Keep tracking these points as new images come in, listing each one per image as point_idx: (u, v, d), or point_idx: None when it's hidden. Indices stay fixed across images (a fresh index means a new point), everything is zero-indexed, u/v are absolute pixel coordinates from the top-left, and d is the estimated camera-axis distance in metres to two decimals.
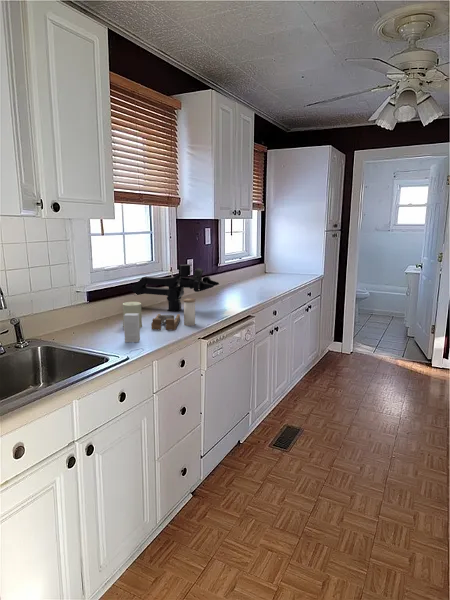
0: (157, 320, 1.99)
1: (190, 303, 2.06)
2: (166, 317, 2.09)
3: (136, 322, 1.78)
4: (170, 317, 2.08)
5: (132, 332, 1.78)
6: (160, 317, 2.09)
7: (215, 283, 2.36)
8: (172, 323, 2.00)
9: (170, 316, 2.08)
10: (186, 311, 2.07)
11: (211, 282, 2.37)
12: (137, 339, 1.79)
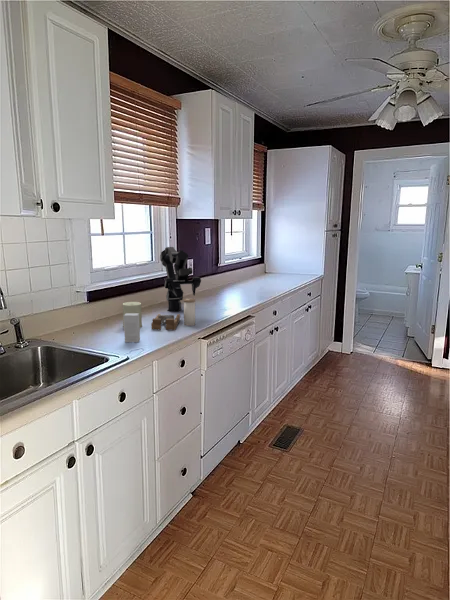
0: (157, 320, 1.99)
1: (190, 303, 2.06)
2: (166, 317, 2.09)
3: (136, 322, 1.78)
4: (170, 317, 2.08)
5: (132, 332, 1.78)
6: (160, 317, 2.09)
7: (193, 292, 2.18)
8: (172, 323, 2.00)
9: (170, 316, 2.08)
10: (186, 311, 2.07)
11: (193, 288, 2.19)
12: (137, 339, 1.79)
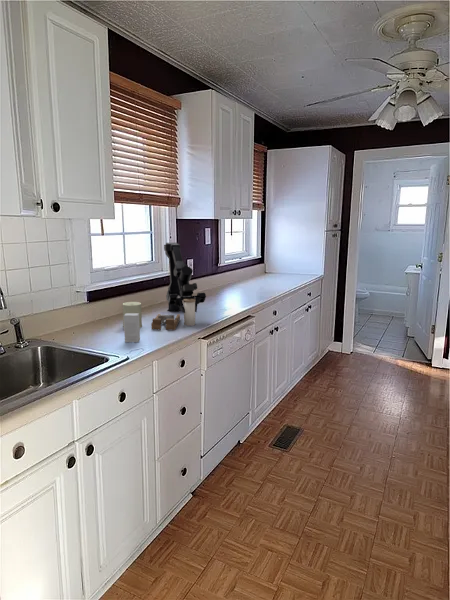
0: (157, 320, 1.99)
1: (190, 303, 2.06)
2: (166, 317, 2.09)
3: (136, 322, 1.78)
4: (170, 317, 2.08)
5: (132, 332, 1.78)
6: (160, 317, 2.09)
7: (195, 308, 2.10)
8: (172, 323, 2.00)
9: (170, 316, 2.08)
10: (186, 311, 2.07)
11: None
12: (137, 339, 1.79)
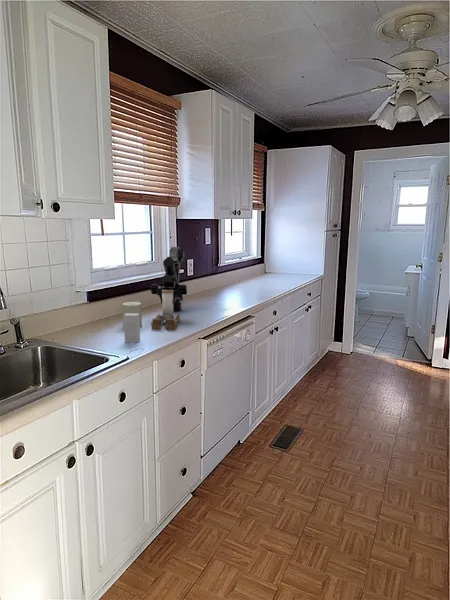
0: (157, 320, 1.99)
1: (166, 294, 2.10)
2: (166, 317, 2.09)
3: (136, 322, 1.78)
4: (170, 317, 2.08)
5: (132, 332, 1.78)
6: (160, 317, 2.09)
7: None
8: (172, 323, 2.00)
9: (170, 316, 2.08)
10: (163, 301, 2.12)
11: None
12: (137, 339, 1.79)
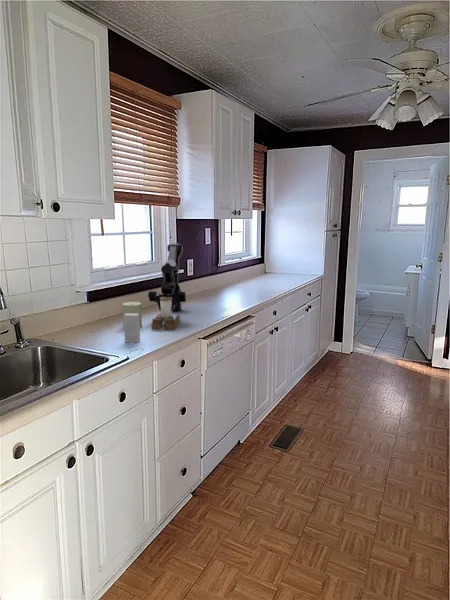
0: (157, 320, 1.99)
1: (164, 301, 2.05)
2: (165, 319, 2.05)
3: (136, 322, 1.78)
4: None
5: (132, 332, 1.79)
6: None
7: None
8: (172, 323, 2.00)
9: (169, 318, 2.05)
10: (161, 309, 2.07)
11: None
12: (137, 339, 1.79)
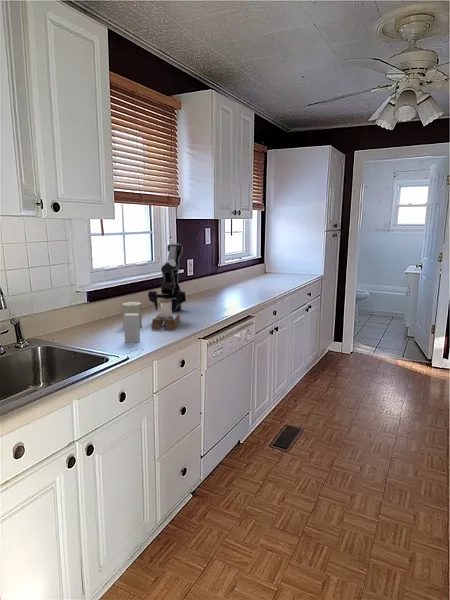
0: (157, 320, 1.99)
1: (164, 303, 2.05)
2: (165, 319, 2.05)
3: (136, 322, 1.78)
4: None
5: (132, 332, 1.78)
6: None
7: None
8: (172, 323, 2.00)
9: (169, 318, 2.05)
10: (161, 311, 2.07)
11: None
12: (137, 339, 1.79)
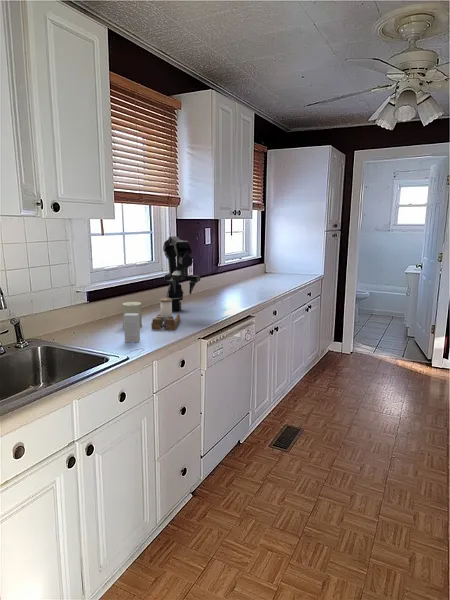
0: (157, 320, 1.99)
1: (164, 303, 2.05)
2: (165, 319, 2.05)
3: (136, 322, 1.78)
4: None
5: (132, 332, 1.78)
6: None
7: None
8: (172, 323, 2.00)
9: (169, 318, 2.05)
10: (161, 311, 2.07)
11: None
12: (137, 339, 1.79)
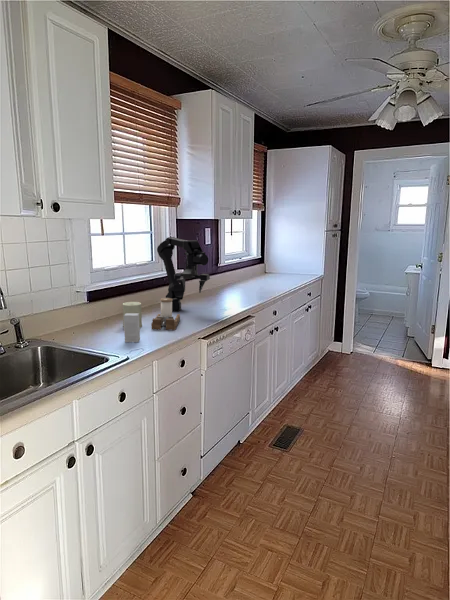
0: (157, 320, 1.99)
1: (165, 303, 2.05)
2: (165, 319, 2.05)
3: (136, 322, 1.78)
4: None
5: (132, 332, 1.78)
6: None
7: None
8: (172, 323, 2.00)
9: (169, 318, 2.05)
10: (161, 310, 2.07)
11: None
12: (137, 339, 1.79)
